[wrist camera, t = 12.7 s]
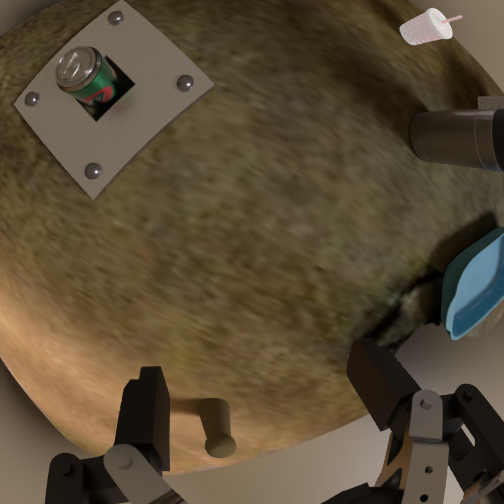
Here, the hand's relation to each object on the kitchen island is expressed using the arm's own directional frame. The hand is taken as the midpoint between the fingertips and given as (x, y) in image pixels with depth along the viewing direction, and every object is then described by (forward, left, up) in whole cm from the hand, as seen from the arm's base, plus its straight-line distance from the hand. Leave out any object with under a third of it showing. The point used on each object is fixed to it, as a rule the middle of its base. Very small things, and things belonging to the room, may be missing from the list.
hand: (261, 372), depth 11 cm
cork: (+24, +25, -28) cm, 44 cm away
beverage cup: (-50, -4, -28) cm, 58 cm away
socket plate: (-2, -23, -28) cm, 36 cm away
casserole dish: (-39, +51, -28) cm, 70 cm away
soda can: (-2, -23, -28) cm, 36 cm away
